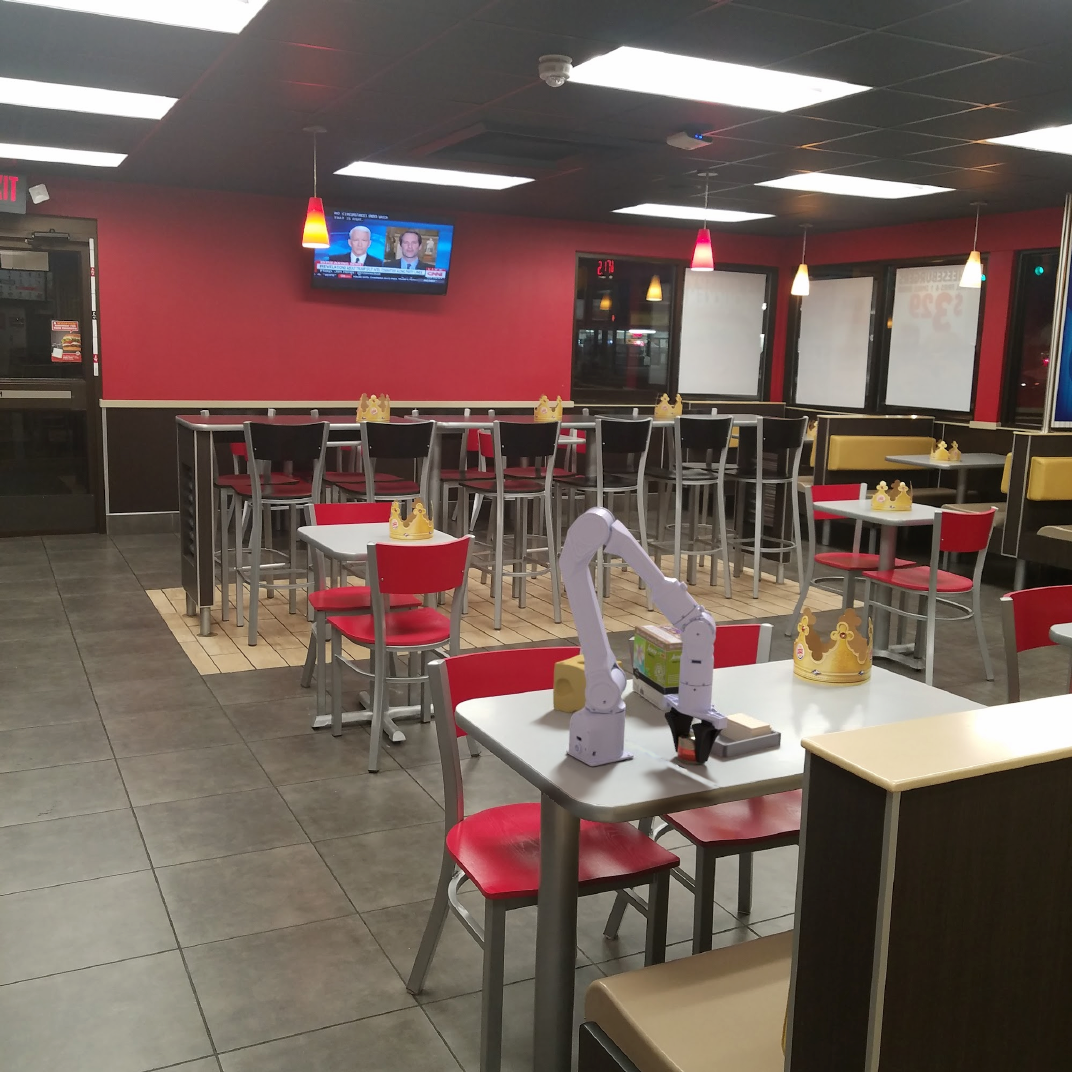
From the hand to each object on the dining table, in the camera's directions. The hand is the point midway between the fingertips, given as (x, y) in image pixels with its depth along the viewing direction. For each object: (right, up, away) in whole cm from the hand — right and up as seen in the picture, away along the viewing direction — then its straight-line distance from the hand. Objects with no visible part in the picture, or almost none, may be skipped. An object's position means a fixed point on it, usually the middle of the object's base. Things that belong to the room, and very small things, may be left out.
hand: (691, 756), depth 183 cm
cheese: (-17, +3, +29) cm, 34 cm away
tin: (0, -1, 0) cm, 1 cm away
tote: (+9, 0, +10) cm, 14 cm away
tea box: (0, +4, +37) cm, 37 cm away
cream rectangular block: (+12, +1, +12) cm, 17 cm away
